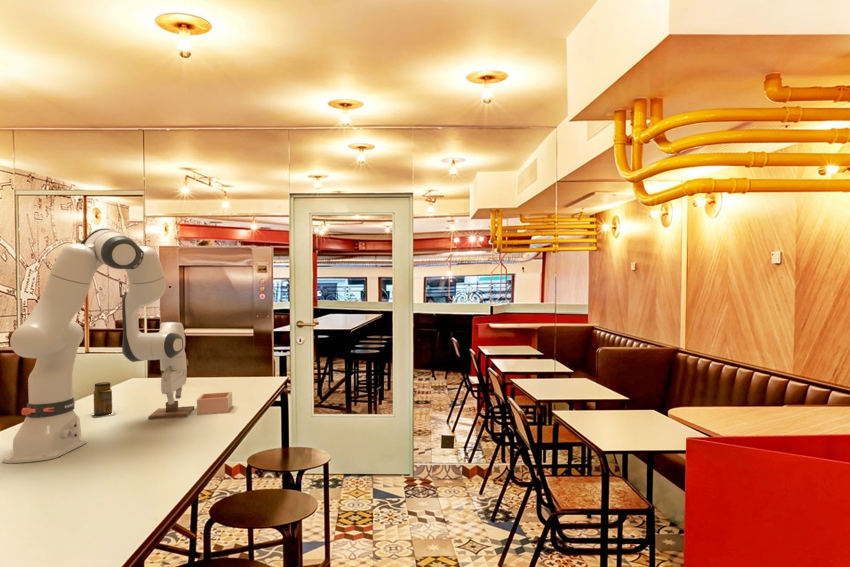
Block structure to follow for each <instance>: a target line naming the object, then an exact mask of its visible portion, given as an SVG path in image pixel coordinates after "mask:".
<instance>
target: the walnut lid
mask: <svg viewBox="0 0 850 567" xmlns="http://www.w3.org/2000/svg"><path fill="white" fill-rule="evenodd" d="M194 409H195V405H191V406H179V400H174V403H173V404H168V401H166V402H165V407H164V408H163V407H161V408H157V409H156V410H155V411H154V412H152V413H151V414H150V415H148V416H147V420H148V421H157V420H156V419H162V420H171V419H170V418H176V419H185V418H184V417H187V416H188V415H189V414H190V413H191V412H192V411H193V410H194Z"/></svg>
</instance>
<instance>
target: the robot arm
mask: <svg viewBox="0 0 850 567" xmlns="http://www.w3.org/2000/svg"><path fill="white" fill-rule="evenodd" d="M103 265H104V266H105V265H106V266H107V267H110V268H112V269H117V270H125V272H126V275H127V279H128V284H129V285H128V292H126V293H125V294H124V295H123V296H122V302H121V306H122V307H121V316H122V317H121V318H122V336H123V337H122V346H121V350H122V354H123V356H124V357H125V358H126V359H127V360H128V361H130V362H131V363H137V362H143V361H157V360H159V363H160V364H159V367H160V368H159V369H160V371H162V373H161V380H160V381H161V383H160V384H161V386H160V388H161V390H160V391H161V394H162V395H166V398H167V402H168V404H173V403H174V401H175V399H176V400H177V399H178V400H179V399H181V398H182V391H183V386H184V385H186V383H187V379H188V378H187V376H188V375H187V374H188V371H187V370H188V368H187V366H189V360H188V359H187V354H186V351H185V348H186V334H185V329H184V325H183V323H182V322H179V321H164V322H161V323H160V326H159V331H158V332H148V333H147V332H145V333H143V332H141V331H140V329H139V328H140V326H139V324H140V323H139V322H140V321H139V311H140V310H141V309H142V308H145V307H146V306H150V305H151V304H154V303H155V302H157V301H158V300H160V299H161V298H162V297H163V296H164V295H165V292H166V289H167V281H166V276H165V272H164V269H163V265H162V262H161V260H160V256H159V254H158V252H157V251H156V250H155V249H154V248H153V247H152V246H149V245H148V246H147V245H138V244H137V243H136V242H135V241H134V240H133V239H132V238H130V237H128V236H126V235H125V234H124V233H122V232H120V231H117V230H113V229H112V228H111V229H110V228H99V229H95V230H94V231H92V232H91V233H89V235H88V236H87V237H85V239H83V240H82V241H81V242H80V243H79V242H78V243H76V242H75V243H68V244H66V245H65V246H63V248H62V249H61V251H60V252H59V254H58V255H57V257H56V259H55V261H54V263H53V265H52V267H51V269H50V271H49V272H50V273H49V275H48V278H47V281H46V283H45V286H44V289H43V291H42V293H41V295H40V298H39V300H38V302H37V303H36V304H35V306H34V308H33V309H32V311H31V312H30V313H29V315H27V318H26V319H25V320H24V322H23V323H22V324H21V325H19V327H17V328H16V329H15V330H14V331H13V332H12V334H11V336H10V339H9V340H10V341H9V342H10V343H9V344H10V347H11V349H12V351H13V352H14V353H15V354H16V356H17V355H18V356H19V357H21V358H26V359H35V360H36V361H35V364H34V367H33V369H32V371H31V372H30V374H29V376H28V379H27V383H28V384H27V386H28V387H27V389H28V402H27V403H26V407H23V408H22V409H21V412H20V413H21V415H22V416H25V418H24V421H23V422H22V424H21V426H20V427H19V429H18V430H17V433H16V434H15V435H14V437H13V441H12V450H11V451H9V452H8V454H6V455H5V456H4V457H3V458H2V461H1V462H2V463H5V464H18V463H30V462H31V463H33V462H40V461H46V460H47V461H48V460H51V459H52V460H53V459H56V458H58V457H61V456H63V455H65V454H67V453H70V452H72V451H73V450H75V449H77V448H79V447H81V446H83V445H85V444H87V439H85V438H82V429H81V418H80V416H79V415H77V413H76V412H75V411H74V410H75V409H76V408H75V404H76V402H75V398H74V397H73V373H74V372H73V371H74V366H75V361H76V357H77V353H78V348H79V347H80V345H81V343H82V342H83V340H84V336H85V333H84V329H83V326H81V325H80V324H79V323H78V322H77V321H74V320H73V318H74V317H75V316H76V315H77V313H79V311H81V310H82V308H83V306H84V304H85V301H86V299H87V296H88V293H89V290H90V288H91V284H92V282H93V279H94V276H95V273H96V272H97V271H98V269H99V268H101V267H102V266H103ZM174 392H175V395H174ZM174 397H175V398H174Z"/></svg>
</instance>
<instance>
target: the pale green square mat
mask: <svg viewBox="0 0 850 567" xmlns="http://www.w3.org/2000/svg"><path fill="white" fill-rule="evenodd" d="M195 410H196V408H194V410H193V411H192V412H191V413H190V414H189V415H188V416H187V417H184V418H183V419H187V418H189V417H190V416H191V415H192V414H193V412H195ZM172 419H173V420H175V419H177V418H170V419H169V420H172ZM161 420H163V419H156V420H155V421H161ZM146 421H148V422H149V420H148V419H146Z"/></svg>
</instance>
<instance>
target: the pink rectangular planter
mask: <svg viewBox="0 0 850 567" xmlns="http://www.w3.org/2000/svg"><path fill="white" fill-rule="evenodd" d="M232 407H233V392H232V391H230V392H229V391H226V392H212V393H211V392H210V393H202V394H201V395H199V397H198V398H197V399H196V415H197V416H199V415H212V414H215V415H216V414H226V413H227V414H228V413H229V412H230V411H231V409H232Z"/></svg>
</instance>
